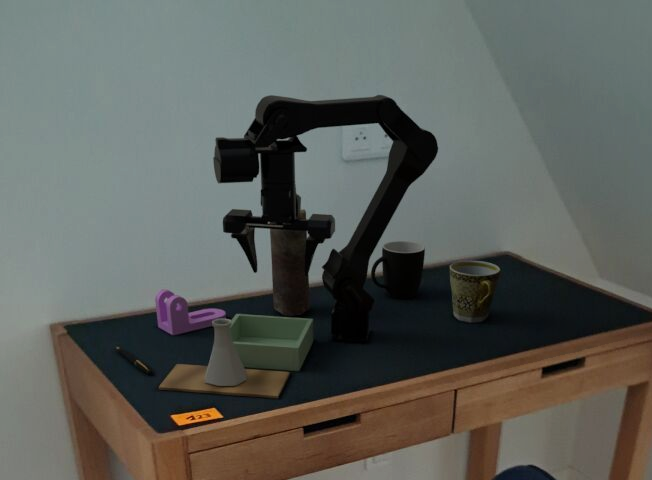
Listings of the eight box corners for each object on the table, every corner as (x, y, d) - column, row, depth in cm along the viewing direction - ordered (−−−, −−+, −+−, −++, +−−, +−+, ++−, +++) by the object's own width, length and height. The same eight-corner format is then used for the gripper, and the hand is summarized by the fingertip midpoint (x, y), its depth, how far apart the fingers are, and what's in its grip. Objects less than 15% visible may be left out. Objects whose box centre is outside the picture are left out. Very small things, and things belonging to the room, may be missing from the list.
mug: (408, 285, 191) (411, 239, 186) (430, 297, 185) (433, 249, 179) (361, 292, 186) (362, 245, 181) (381, 305, 180) (382, 256, 174)
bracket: (172, 335, 162) (169, 299, 158) (158, 326, 166) (154, 291, 162) (231, 321, 170) (229, 286, 166) (216, 313, 173) (213, 278, 169)
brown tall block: (266, 308, 176) (261, 206, 165) (295, 302, 180) (293, 202, 169) (286, 319, 171) (283, 215, 160) (317, 312, 175) (316, 210, 164)
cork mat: (289, 374, 149) (289, 371, 148) (277, 398, 140) (277, 395, 140) (177, 366, 150) (176, 363, 150) (158, 389, 142) (158, 386, 142)
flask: (239, 389, 142) (235, 331, 136) (197, 385, 143) (192, 326, 137) (253, 373, 148) (250, 316, 142) (213, 368, 149) (208, 312, 143)
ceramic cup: (438, 310, 178) (442, 262, 172) (482, 307, 181) (487, 259, 175) (463, 332, 168) (467, 281, 162) (509, 328, 170) (515, 278, 165)
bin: (313, 341, 162) (313, 318, 160) (299, 371, 150) (298, 347, 148) (237, 335, 163) (236, 313, 161) (217, 365, 151) (215, 341, 149)
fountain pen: (113, 350, 156) (112, 342, 155) (119, 349, 156) (118, 341, 155) (148, 377, 146) (146, 369, 146) (154, 375, 147) (153, 367, 146)
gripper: (340, 174, 150) (339, 264, 159) (235, 168, 152) (240, 257, 161) (330, 187, 141) (330, 282, 150) (218, 181, 143) (225, 275, 151)
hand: (281, 273), depth 153 cm, fingers open, 9 cm apart
